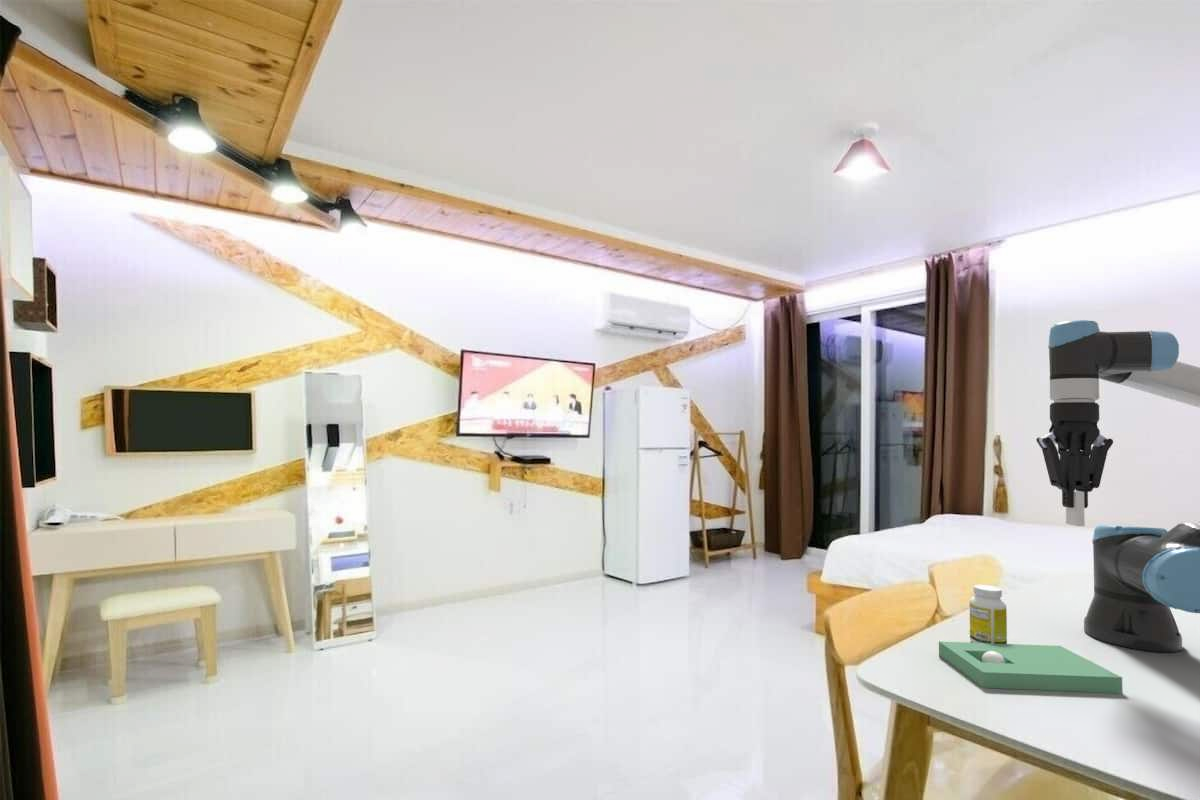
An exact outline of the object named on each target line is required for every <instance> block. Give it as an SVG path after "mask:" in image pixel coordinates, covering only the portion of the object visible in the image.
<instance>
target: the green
mask: <svg viewBox="0 0 1200 800" xmlns="http://www.w3.org/2000/svg"><path fill="white" fill-rule="evenodd" d="M988 651H995V652H997V653H999V654H1000V655H1002V657H1003V658H1004V660H1005V663H982V656H983V654H984V653H986V652H988ZM938 656H939V657H941V658H942V659H943V660H945V661H946V662H947V663H949V664H950V665H952V666H953V667H955V669H957V670H959V671H960V672H961V673H963V674H964V675H965V676H966V677H968V678H969V679H970V680H972V681H973V682H974V683H976V684H977V685H978V686H980V687H981V688H984V689H1007V690H1032V691H1034V690H1035V691H1053V692H1055V691H1056V692H1057V691H1061V692H1080V693H1081V692H1082V693H1085V692H1086V693H1104V694H1105V693H1110V694H1123V677H1122V676H1120V675H1118V674H1117V673H1114V672H1113V671H1110V670H1108V669H1107V668H1104V667H1103V666H1101V665H1099V664H1097V663H1095V662H1093V661H1091V660H1089V659H1087V658H1085V657H1083V656H1081V655H1079V654H1077V653H1076V652H1073V651H1072V650H1070V649H1068V648H1065V647H1063V646H1061V645H1048V644H1047V645H1045V644H1018V643H1017V644H1016V643H1015V644H1014V643H1007V644H995V643H973V642H962V641H960V642H959V641H938Z"/></svg>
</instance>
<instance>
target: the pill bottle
mask: <svg viewBox="0 0 1200 800" xmlns="http://www.w3.org/2000/svg"><path fill="white" fill-rule="evenodd" d="M1002 590H1003V589H1002V588H1000V587H997V586H995V585H987V584H975V585H973V594H974V596H972V597H970V599H969V638H970V639H969V640H970V641H971V643H995V644H1008V627H1007V626H1008V625H1007V623H1008V620H1007V619H1008V618H1007V617H1008V616H1007V615H1008V614H1007V604H1006V603H1005V602H1004V601H1003V600H1002V599H1001V598H1002V596H1003V591H1002Z"/></svg>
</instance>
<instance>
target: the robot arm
mask: <svg viewBox="0 0 1200 800" xmlns="http://www.w3.org/2000/svg"><path fill="white" fill-rule="evenodd" d="M1047 349H1048V354H1049V355H1048V356H1049V399H1050V400H1051V401H1053V402H1051V403H1050V404H1049V420H1050V422H1051V426H1050V428H1049V430H1048V432H1049V433H1047V434H1046V435H1044V436H1038V437H1037V438H1036V442H1037V444H1038V446H1039V447H1040V449H1041V451H1042V455H1043V458H1044V462H1045V465H1046V466H1045V467H1046V470H1047V475H1048V477H1049V483H1050V485H1051V486H1052V487H1056V488H1058V490H1061V499H1062V500H1061V504H1062V506H1063V507H1064V508H1065V524H1066V525H1070V526H1074V527H1086V525H1085V521H1086V520H1085V509H1087V508H1088V506H1089V492H1093V489H1098V488H1099V487H1100V485H1101V481H1102V477H1103V473H1104V467H1105V463H1106V461H1107V456H1108V451H1109V449H1110V448H1111V447H1112V445H1113V443H1114V440H1113V439H1112V438H1107V437H1105V436H1103V435H1102V434H1101V431H1100V429H1099V426H1098V423H1099V421H1100V405H1099V403H1098V402H1096V401H1098V400H1099V399H1100V380H1103V381H1107V382H1110V383H1114V384H1118V385H1121V386H1124V387H1129V388H1132V389H1135V390H1138V391H1142V392H1144V393H1149V394H1152V395H1154V396H1159V397H1162V398H1165V399H1168V400H1169V399H1170V400H1173V401H1177V402H1180V403H1183V404H1187V405H1190V406H1193V407H1197V408H1200V366H1197V365H1196V366H1195V365H1193V364H1189V363H1185V362H1181V361H1178V358H1179V356H1180V344H1179V342H1178V339H1177V337H1176V336H1175V335H1174V334H1173V333H1171V332H1169V331H1160V330H1159V331H1157V330H1156V331H1154V330H1150V329H1149V330H1145V331H1144V330H1143V331H1142V330H1141V331H1112V332H1111V331H1101V330H1100V328H1099V324H1098V322H1096V320H1085V319H1083V320H1081V319H1080V320H1079V319H1078V320H1069V321H1062V322H1058V323H1055V324H1053V325H1052V326H1051V327H1050V330H1049V337H1048V348H1047ZM1056 445H1057V446H1056ZM1092 544H1093V547H1092V548H1093V549H1092V551H1093V597H1092V600H1091V602H1090V605H1089V607H1088V610H1087V613H1086V616H1085V617H1084V618H1083V631H1084V633H1085V634H1087V635H1088V636H1090V637H1092V638H1094V639H1098V640H1100V641H1103V642H1106V643H1108V644H1112V645H1117V646H1120V647H1121V646H1122V647H1125V648H1129V649H1134V650H1140V651H1147V652H1157V653H1158V652H1159V653H1176V652H1180V651H1182V650H1183V637H1182V634H1181V633H1180V631H1179V627H1178V624H1177V622H1176V620H1175V617H1174V614H1173V613H1172V609H1175V610H1181V611H1183V612H1186V613H1187V612H1188V613H1192V614H1200V521H1198V522H1196V523H1191V522H1180V523H1178V524H1177V525H1176V526H1174V527H1173V528H1171V529H1170V530H1167V529H1165V528H1162V527H1148V526H1147V527H1145V526H1144V527H1143V526H1127V525H1125V526H1124V525H1109V524H1108V525H1106V524H1100V525H1097V526H1096V527H1095V529H1094V530H1093V537H1092Z"/></svg>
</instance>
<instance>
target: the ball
mask: <svg viewBox="0 0 1200 800" xmlns="http://www.w3.org/2000/svg"><path fill="white" fill-rule="evenodd" d="M982 663H1005V660H1004V658H1003V657H1002V655H1000V654H999V653H997V652H995V651H988V652H986V653H984V654H983V656H982Z"/></svg>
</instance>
